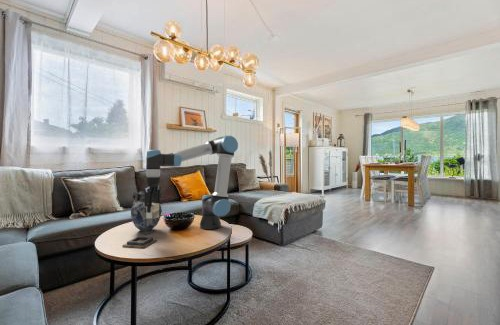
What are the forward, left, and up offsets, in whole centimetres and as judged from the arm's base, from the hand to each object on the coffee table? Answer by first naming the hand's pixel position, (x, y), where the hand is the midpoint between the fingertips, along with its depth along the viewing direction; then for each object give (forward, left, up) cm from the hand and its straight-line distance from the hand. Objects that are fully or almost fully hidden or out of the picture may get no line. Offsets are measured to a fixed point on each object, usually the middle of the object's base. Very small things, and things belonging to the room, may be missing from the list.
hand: (152, 216), depth 138 cm
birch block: (0, 0, 0) cm, 0 cm away
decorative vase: (+17, -19, -16) cm, 30 cm away
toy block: (+9, -46, -16) cm, 49 cm away
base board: (+7, +1, -15) cm, 17 cm away
